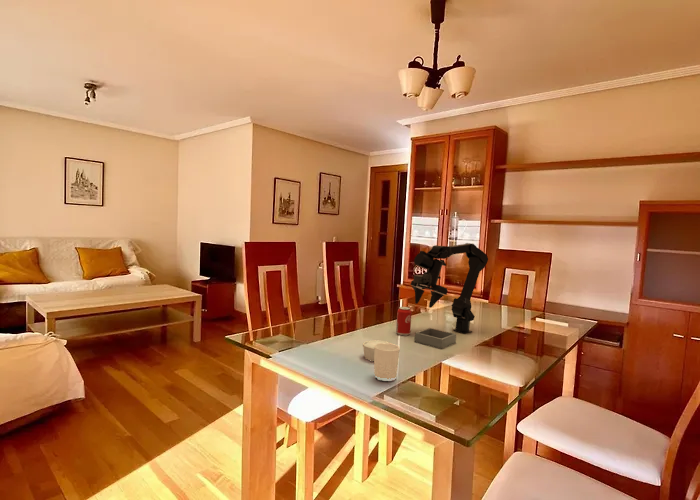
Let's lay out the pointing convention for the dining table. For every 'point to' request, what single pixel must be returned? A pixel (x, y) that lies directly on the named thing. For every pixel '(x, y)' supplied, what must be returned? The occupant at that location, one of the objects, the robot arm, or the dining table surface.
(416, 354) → the dining table surface
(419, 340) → the tray
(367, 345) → the ramekin
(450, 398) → the dining table surface
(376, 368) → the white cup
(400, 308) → the beverage can
